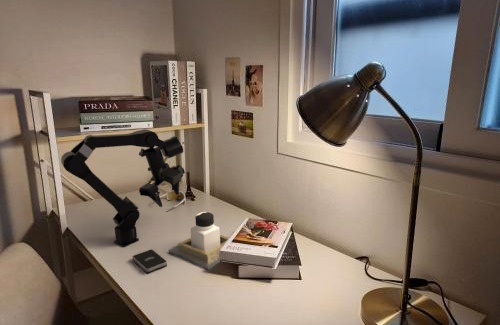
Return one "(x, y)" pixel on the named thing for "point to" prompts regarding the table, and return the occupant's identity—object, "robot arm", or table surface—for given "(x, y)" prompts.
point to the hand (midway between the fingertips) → (169, 200)
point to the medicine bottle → (205, 232)
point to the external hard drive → (149, 261)
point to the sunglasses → (174, 196)
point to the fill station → (198, 253)
